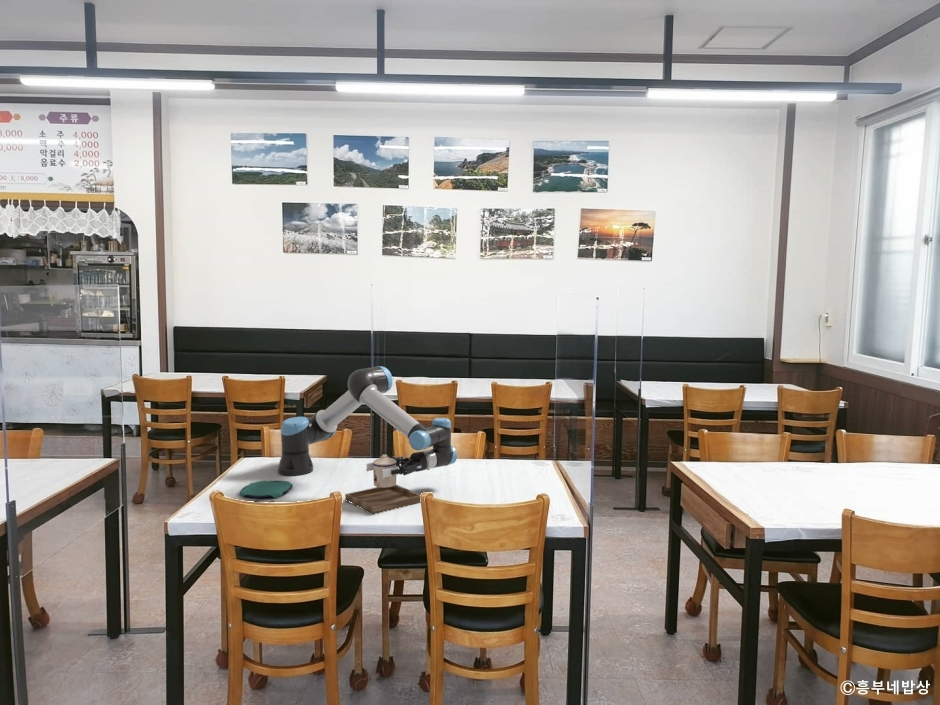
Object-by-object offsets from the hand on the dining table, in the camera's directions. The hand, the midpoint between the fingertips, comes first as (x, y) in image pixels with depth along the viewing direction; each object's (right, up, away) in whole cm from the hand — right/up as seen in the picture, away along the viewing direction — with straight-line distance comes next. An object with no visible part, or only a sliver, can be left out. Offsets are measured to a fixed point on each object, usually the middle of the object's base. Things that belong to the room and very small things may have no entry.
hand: (374, 470), depth 241 cm
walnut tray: (+3, -12, +4) cm, 13 cm away
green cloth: (-46, -12, +10) cm, 48 cm away
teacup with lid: (+3, -7, +3) cm, 8 cm away
